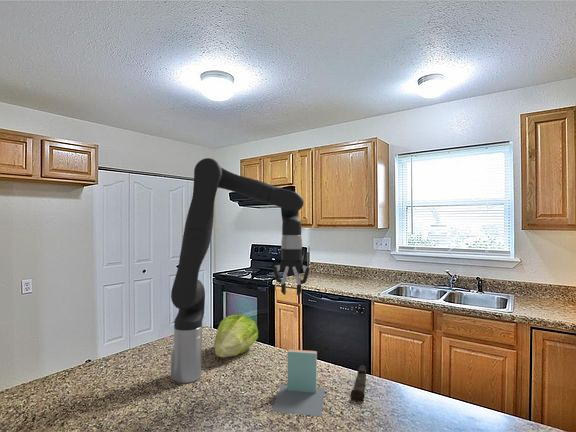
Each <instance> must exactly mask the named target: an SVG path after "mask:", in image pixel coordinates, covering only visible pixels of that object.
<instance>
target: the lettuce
mask: <svg viewBox="0 0 576 432" xmlns="http://www.w3.org/2000/svg"><path fill="white" fill-rule="evenodd" d="M258 339H259V329H258V326H257V323H256V321H255V320H253V319H252V318H251V317H249V316H247V315H245V314H242V313H240V314H232V315H228V316H226V317H224V318H223V319H222V320H221V321H220V322H219V325H218V327H217V331H216V334H215V337H214V342H213V346H214V350H215V351H214V352H215V355H216V356H217V357H220V358H230V357H231V358H232V357H235V356H237V355H240V354H243V353H245V352H246V351H247V350H248V349H249V348H251V347H252V345H254V344H255V342H256V341H257V340H258Z"/></svg>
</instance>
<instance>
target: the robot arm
mask: <svg viewBox="0 0 576 432" xmlns="http://www.w3.org/2000/svg"><path fill="white" fill-rule="evenodd" d="M193 169H194V170H193V188H192V196H191V201H190V205H189V208H188V212H187V215H186V219H185V223H184V224H185V225H184V229H183V235H182V241H181V247H180V248H181V249H180V254H179V261H178V265H177V270H176V274H175V276H174V277H175V278H174V281H173V283H172V288H171V292H170V298H171V302H172V305H174V307H175V308H177V310H178V312H177V315H176V317H175V319H174V322H173V328H174V330H173V349H172V350H171V353H170V355H171V356H170V380H171V381H174V382H176V383H180V384H185V383H194V382H195V381H197V380H200V378H201V377H202V364H203V363H202V361H203V359H202V358H203V357H202V356H203V355H202V351H203V350H202V349H203V335H202V334H203V320H204V316H205V307H206V306H205V303H206V299H205V298H206V291H205V290H206V289H205V286H204V284H203V283H202V281H201V280H199V274H200V270H201V269H200V268H201V266H202V263H203V261H204V260H205V257H206V255H207V252H208V251H209V248H210V243H211V239H212V234H213V227H214V226H213V225H214V219H215V218H214V217H215V216H214V215H215V214H214V213H215V212H214V211H215V199H216V195H217V191H218V188H219V189H221V190H227V191H230V192H233V193H236V194H240V195H242V196H245V197H247V198H250V199H252V200H255V201H257V202H260V203H263V204H266V205H270V206H276V207H278V208H280V212H281V213H280V214H281V219H282V220H281V221H282V226H281V230H282V231H281V241H280V243H281V250H280V251H281V253H280V254H281V255H280V256H281V257H280V260H281V261H280V264H278V265H273V267H272V270H273V274H274V278H275V281H276V283H279V284H280V286H281V287H280V289H281V294H282V295H286V293H287V283H286V281H287V279H288V276H294V278H295V280H296V283H297V284H296V296H299V295H300V294H301V293H302V285H303V284H306V282H307V281H308V277H309V274H310V271H311V266H306V265H304V263H303V240H302V239H303V238H302V221H301V220H300V213H299V211H300V210H301V209H302V208H303V207H304V204H305V203H304V201H305V200H304V198H303V196H302V195H301V194H300V193H299V192H296V191H292V190H290V189H284V188H282V187H277V186H274V185H273V184H270V183H267V182H264V181H261V180H258V179H255V178H250V177H246V176H242V175H238V174H236V173H233V172H231V171H228V170H227V169H224V168H223V167H221V165H220V163H219V162H218V161H216V160H215V159H213V158H211V157H206V158H203V159H201V160H199V161H198V162H197V163H196V164H195V167H194V168H193ZM280 270H281V271H282V272H283V275H282V278H281V276H280ZM301 270H303V272H304V275H303V278H301V274H300V272H301Z"/></svg>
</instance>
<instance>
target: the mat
mask: <svg viewBox="0 0 576 432" xmlns="http://www.w3.org/2000/svg"><path fill="white" fill-rule="evenodd" d="M325 390H326V388H325V387H317V391H316V393H312V392H301V391H290V390H287V384H283V383H282V384H281V385H280V388H279V390H278V392H277V395H276V398H275V400H274V403H273V406H272V408H271V411H270V412H272V413H274V412H275V413H285V414H294V415H303V416H304V415H305V416H313V417H322V414H323V406H324V398H325Z"/></svg>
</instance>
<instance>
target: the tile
mask: <svg viewBox="0 0 576 432" xmlns="http://www.w3.org/2000/svg"><path fill="white" fill-rule="evenodd" d="M287 350H288V351H287V384H286V385H287V390H290V391H301V392H312V393H316V391H317V388H318V387H317V386H318V384H317V382H318V379H317V375H318V373H317V371H318V369H317V368H318V367H317V366H318V360H317V359H318V351H315V350H302V349H301V350H300V349H287Z"/></svg>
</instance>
